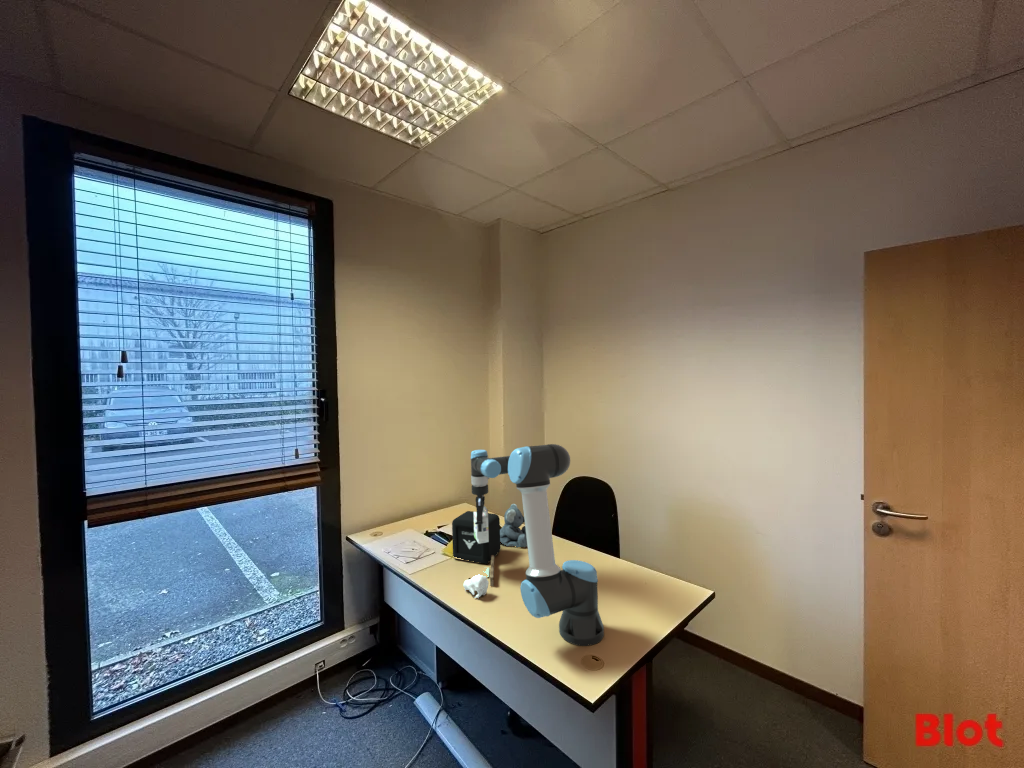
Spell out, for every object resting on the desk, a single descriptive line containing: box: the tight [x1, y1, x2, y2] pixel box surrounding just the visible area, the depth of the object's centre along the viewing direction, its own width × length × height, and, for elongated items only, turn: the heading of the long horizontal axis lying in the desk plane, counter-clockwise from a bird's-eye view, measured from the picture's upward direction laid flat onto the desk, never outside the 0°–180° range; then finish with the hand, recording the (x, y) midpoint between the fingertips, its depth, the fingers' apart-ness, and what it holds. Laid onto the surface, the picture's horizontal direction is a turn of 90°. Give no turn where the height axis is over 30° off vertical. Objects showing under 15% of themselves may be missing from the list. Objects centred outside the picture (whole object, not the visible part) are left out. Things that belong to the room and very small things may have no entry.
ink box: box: [473, 505, 489, 544], centre depth 183 cm, size 9×5×15 cm, turn 20°
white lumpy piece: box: [463, 574, 490, 599], centre depth 166 cm, size 6×8×12 cm
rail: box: [489, 555, 495, 587], centre depth 182 cm, size 22×1×4 cm, turn 2°
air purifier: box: [451, 510, 501, 565], centre depth 201 cm, size 20×15×20 cm
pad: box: [483, 567, 490, 578], centre depth 183 cm, size 9×9×1 cm
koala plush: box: [500, 503, 527, 548], centre depth 218 cm, size 17×18×20 cm
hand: (481, 533), depth 183 cm, fingers closed on ink box, 9 cm apart
